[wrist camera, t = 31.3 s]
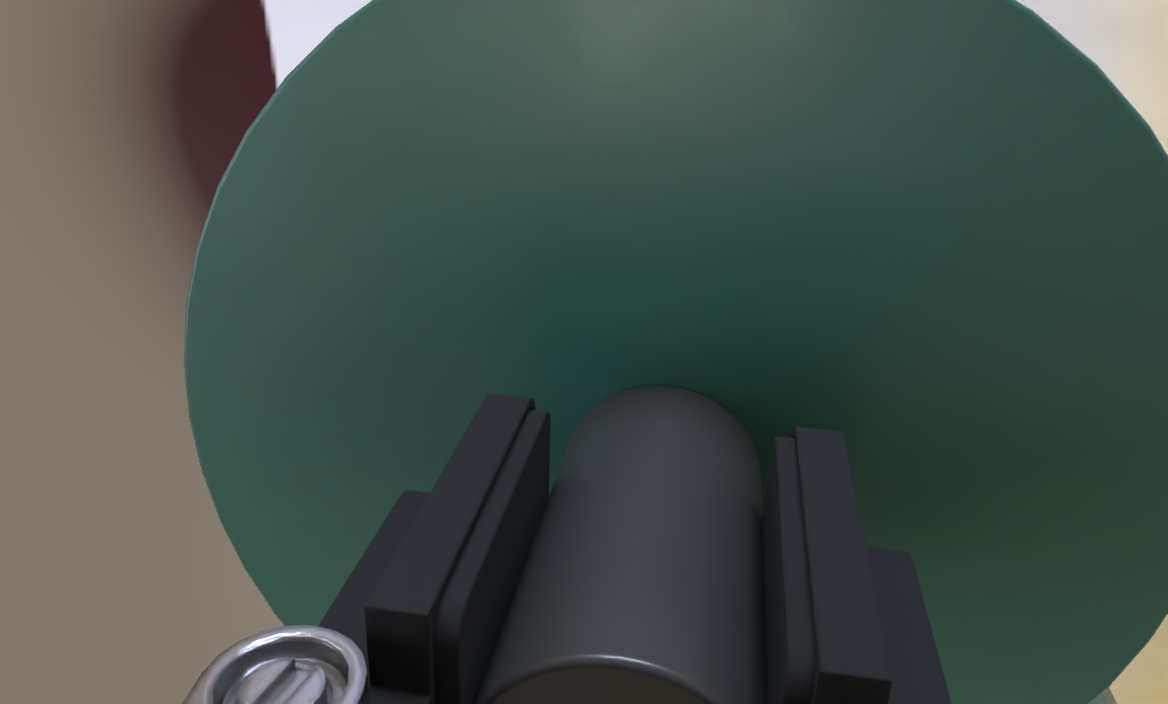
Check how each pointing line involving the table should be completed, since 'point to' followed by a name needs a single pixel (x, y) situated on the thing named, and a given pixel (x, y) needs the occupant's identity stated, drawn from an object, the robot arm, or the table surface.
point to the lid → (704, 323)
